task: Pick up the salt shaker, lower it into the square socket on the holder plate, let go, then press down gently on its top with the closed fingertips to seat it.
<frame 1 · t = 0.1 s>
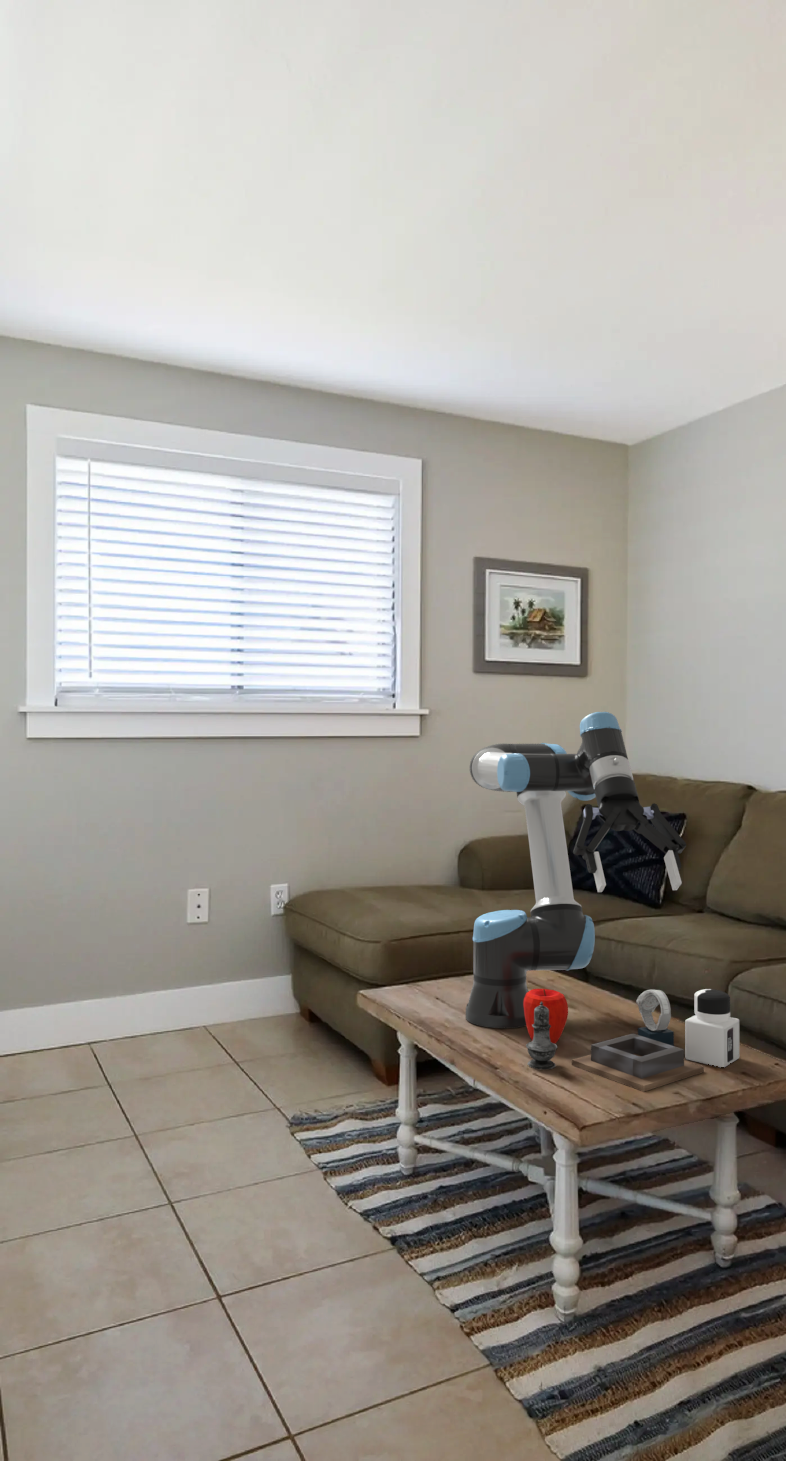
hand: (639, 888, 165), 36 cm above the table, tool tilted 35°, fingers open, 13 cm apart
apple: (545, 1044, 194), on the table
container: (712, 1060, 184), on the table
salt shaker: (541, 1066, 180), on the table
watch: (655, 1046, 192), on the table
holder: (637, 1068, 178), on the table
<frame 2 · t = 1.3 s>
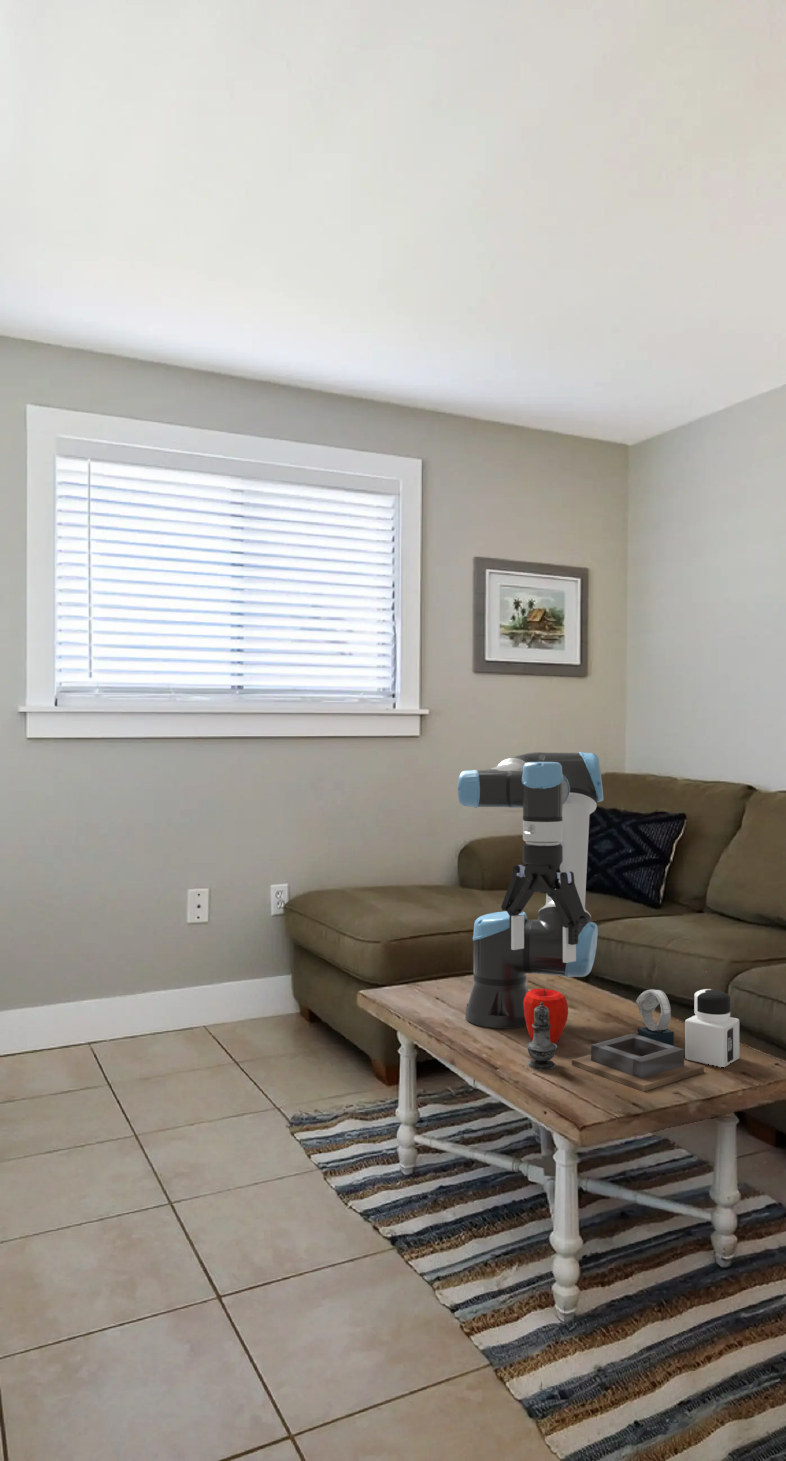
hand: (542, 955, 181), 21 cm above the table, tool pointing down, fingers open, 13 cm apart
nothing on the table moved.
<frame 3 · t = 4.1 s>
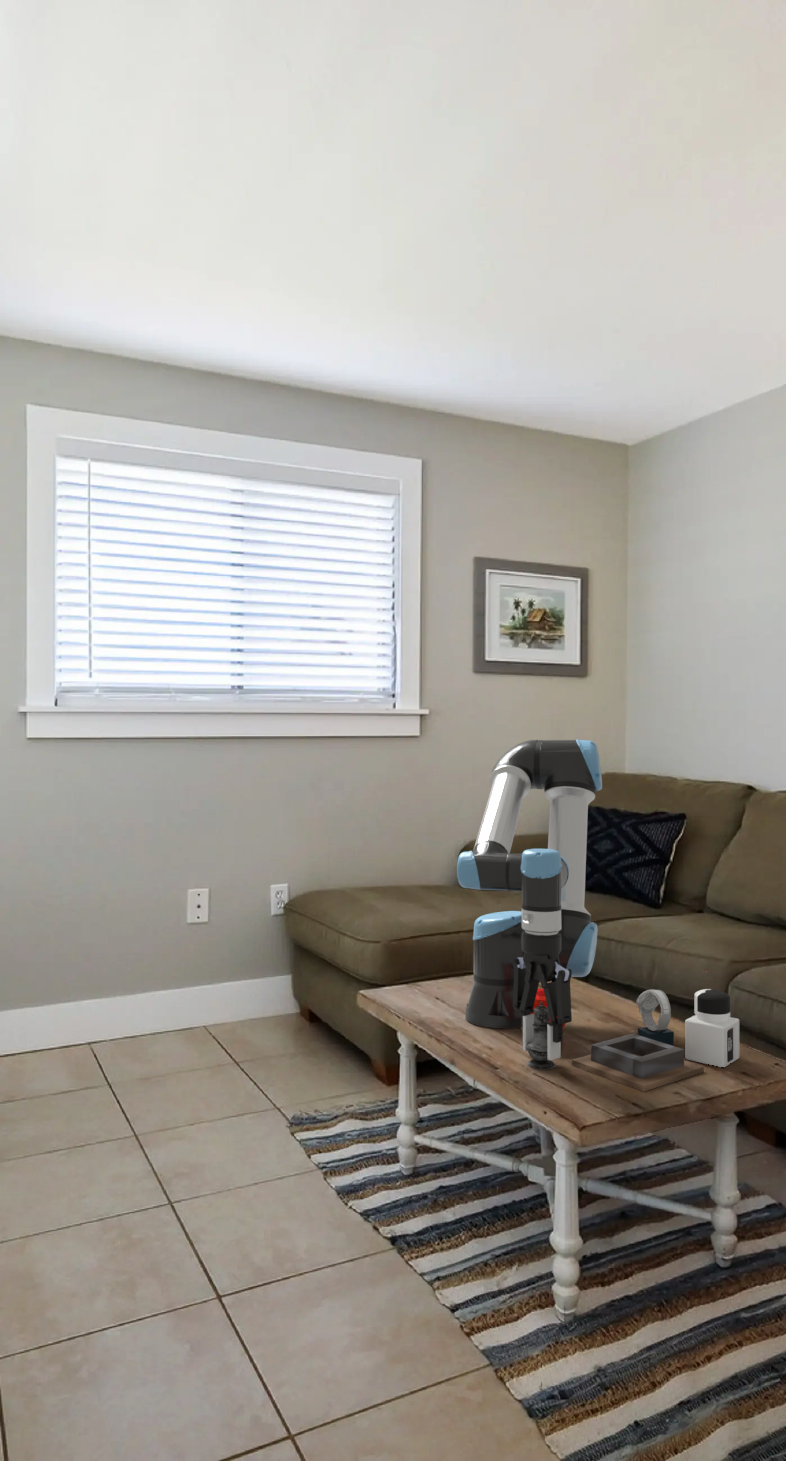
hand: (541, 1053, 180), 2 cm above the table, tool pointing down, fingers closed on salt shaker, 6 cm apart
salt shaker: (541, 1066, 180), on the table, touching gripper
everything else where it was.
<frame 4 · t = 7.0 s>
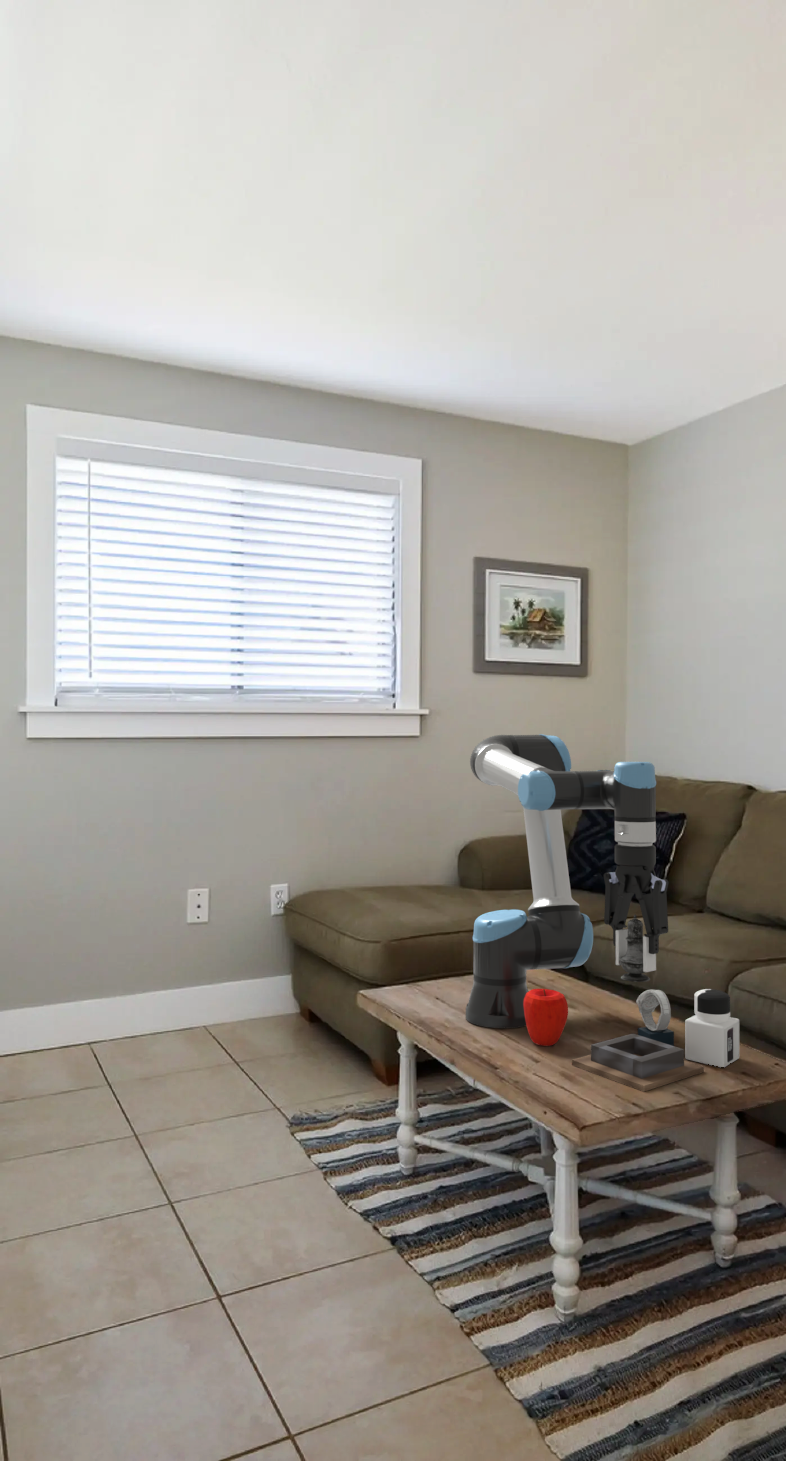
hand: (635, 967, 178), 19 cm above the table, tool pointing down, fingers closed on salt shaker, 6 cm apart
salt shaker: (635, 979, 178), point 17 cm above the table, touching gripper
everything else where it was.
when the fingers open (5 cm above the table, at t = 10.3 s): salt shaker drops 2 cm, resting on holder.
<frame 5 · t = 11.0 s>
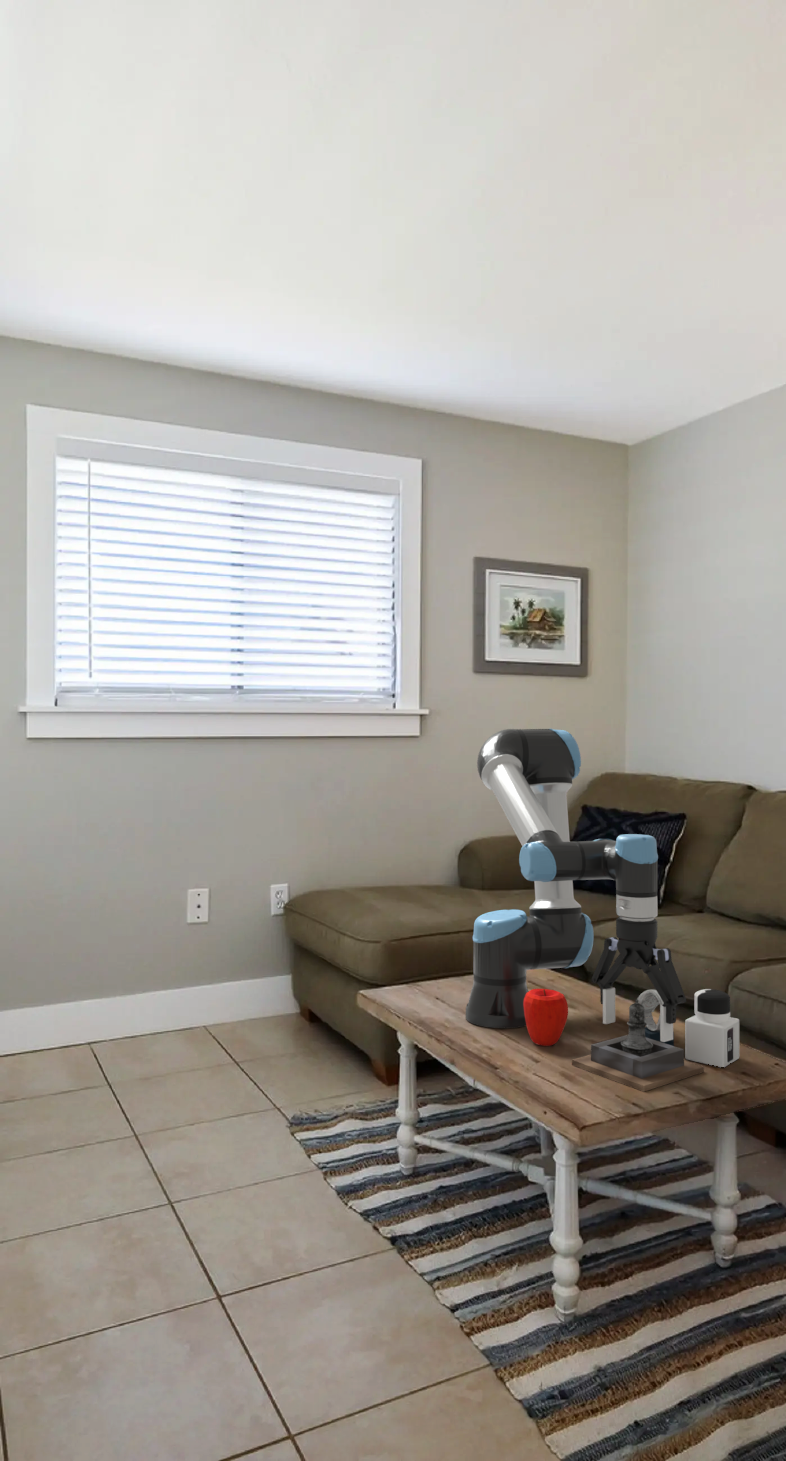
hand: (637, 1031, 178), 7 cm above the table, tool pointing down, fingers open, 13 cm apart
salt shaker: (636, 1064, 178), point 1 cm above the table, touching holder
everything else where it was.
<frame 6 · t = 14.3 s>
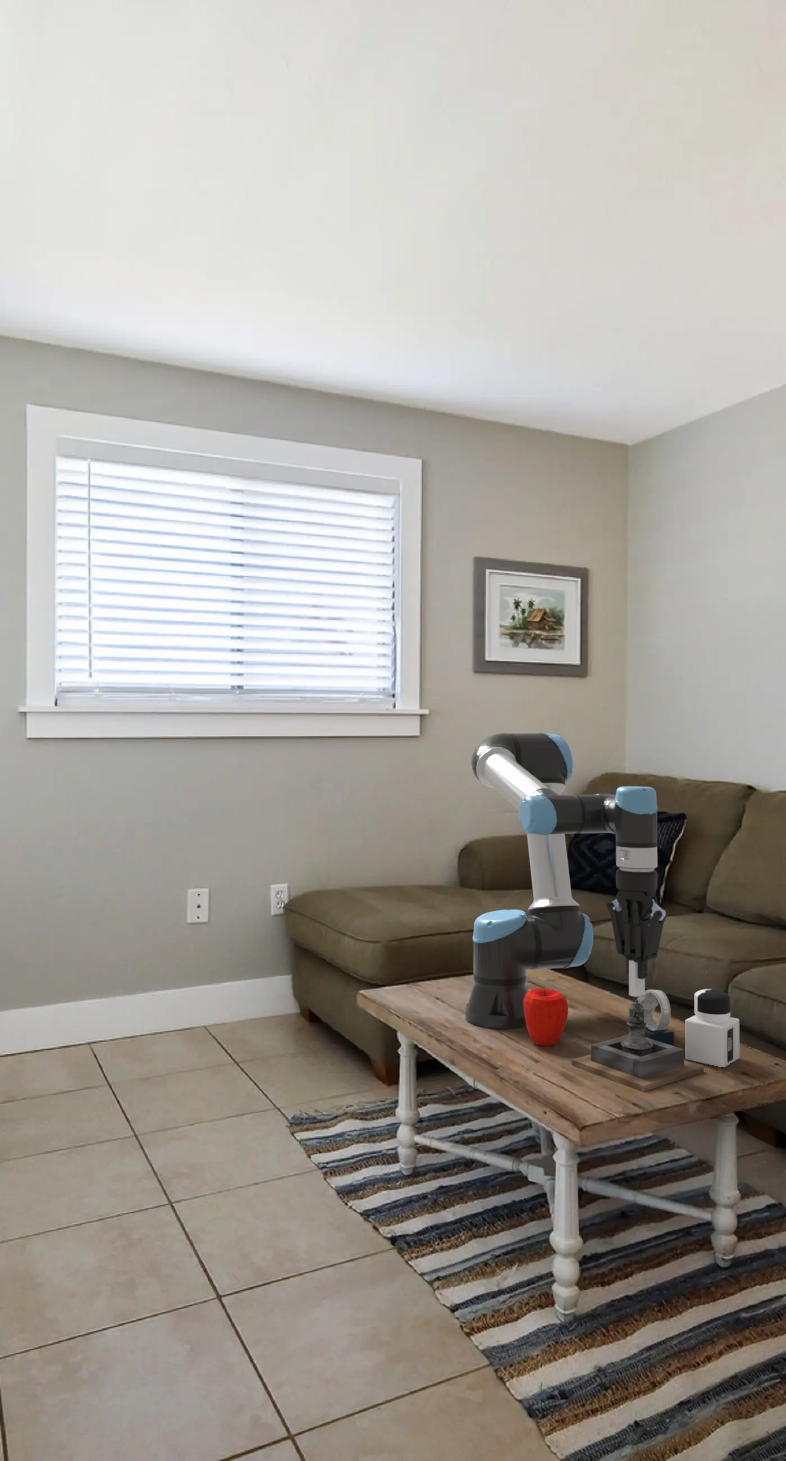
hand: (636, 995, 178), 14 cm above the table, tool pointing down, fingers closed
nothing on the table moved.
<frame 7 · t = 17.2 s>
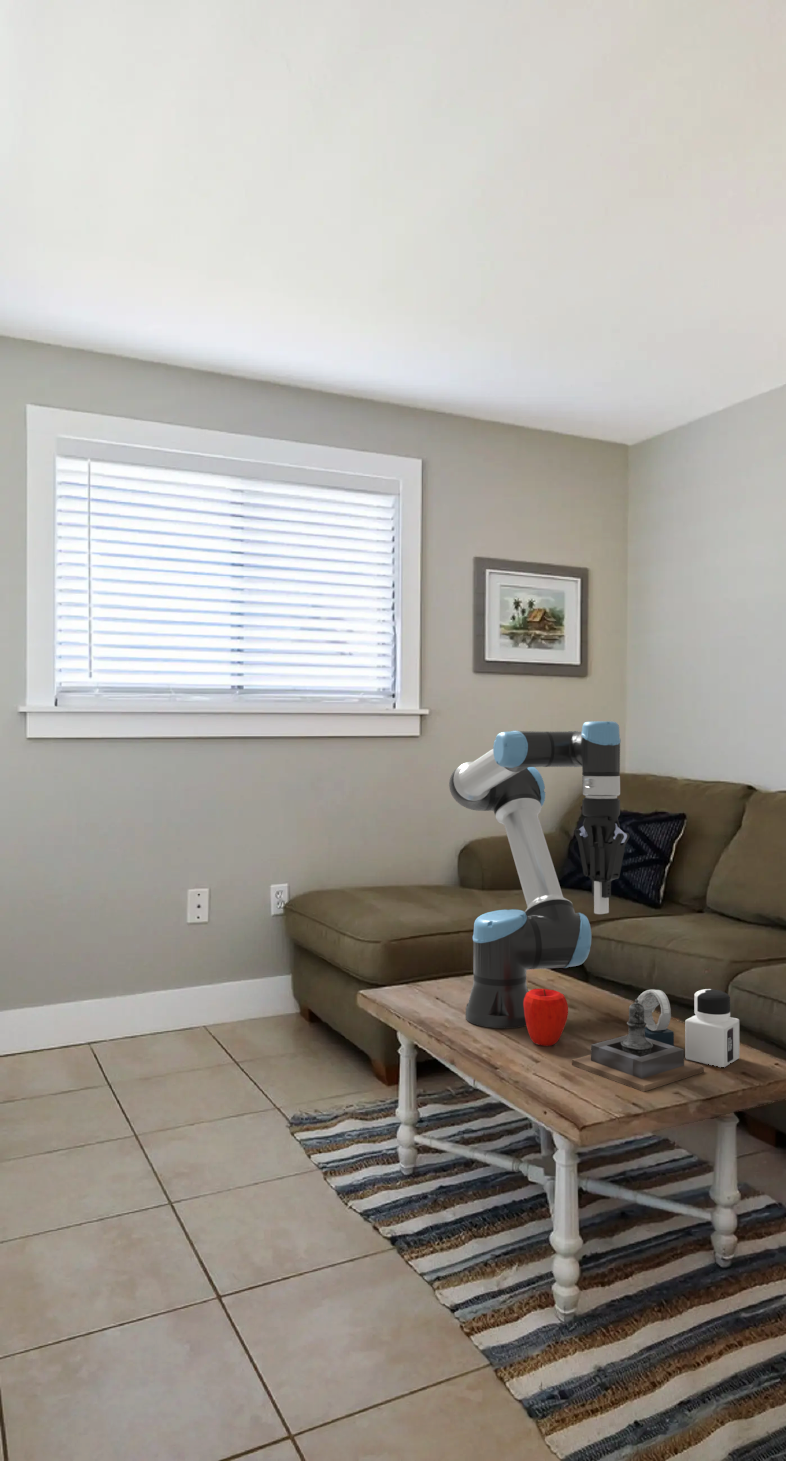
hand: (601, 913, 194), 26 cm above the table, tool pointing down, fingers closed
nothing on the table moved.
at the end: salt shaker 0.1 cm off-centre on the holder, point 0.8 cm above the holder's base; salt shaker tilted 0°; the gripper is holding nothing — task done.
